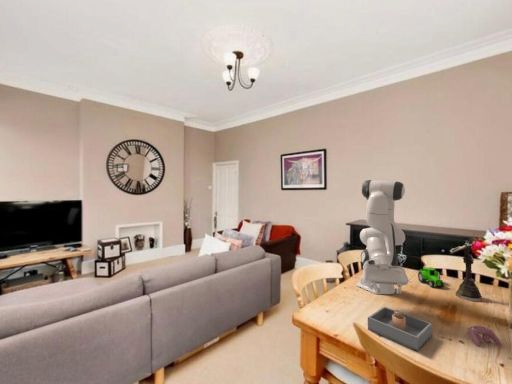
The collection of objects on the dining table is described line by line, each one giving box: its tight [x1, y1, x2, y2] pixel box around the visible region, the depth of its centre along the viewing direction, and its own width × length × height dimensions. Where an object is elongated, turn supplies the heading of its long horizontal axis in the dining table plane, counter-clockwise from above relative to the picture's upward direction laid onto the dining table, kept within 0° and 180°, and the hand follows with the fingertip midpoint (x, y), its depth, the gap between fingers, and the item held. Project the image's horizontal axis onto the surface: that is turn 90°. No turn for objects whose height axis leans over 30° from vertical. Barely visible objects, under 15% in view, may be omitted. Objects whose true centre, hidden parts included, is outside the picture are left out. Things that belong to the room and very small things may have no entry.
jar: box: [392, 309, 406, 332], centre depth 109 cm, size 5×5×8 cm
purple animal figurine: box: [467, 325, 502, 347], centre depth 101 cm, size 10×5×7 cm, turn 89°
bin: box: [367, 306, 433, 353], centre depth 108 cm, size 20×16×6 cm
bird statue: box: [449, 237, 483, 303], centre depth 143 cm, size 17×13×35 cm
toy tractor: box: [417, 266, 445, 289], centre depth 162 cm, size 11×16×10 cm
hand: (388, 292), depth 116 cm, fingers open, 8 cm apart
